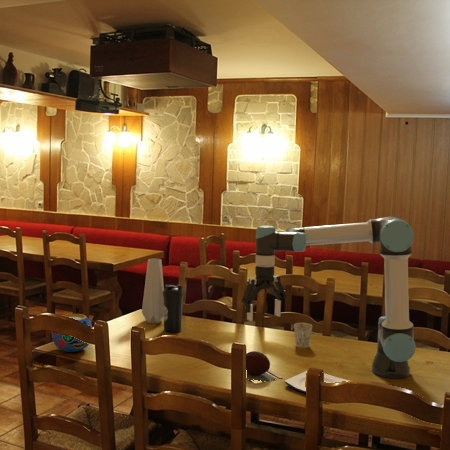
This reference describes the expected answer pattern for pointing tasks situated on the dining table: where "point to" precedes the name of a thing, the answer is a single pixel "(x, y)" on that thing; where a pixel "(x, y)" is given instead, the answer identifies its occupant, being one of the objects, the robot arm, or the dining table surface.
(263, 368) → the potato
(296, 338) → the mug
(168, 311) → the water bottle
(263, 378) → the mat
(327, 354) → the dining table surface
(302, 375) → the plate
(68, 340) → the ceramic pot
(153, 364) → the dining table surface
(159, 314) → the vase
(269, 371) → the pink thin rod
